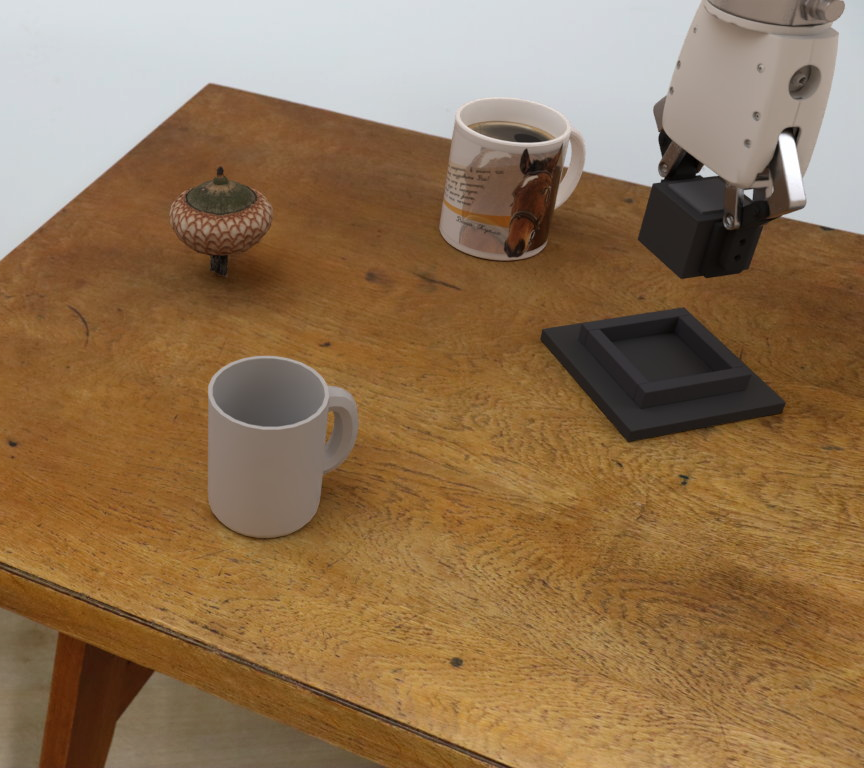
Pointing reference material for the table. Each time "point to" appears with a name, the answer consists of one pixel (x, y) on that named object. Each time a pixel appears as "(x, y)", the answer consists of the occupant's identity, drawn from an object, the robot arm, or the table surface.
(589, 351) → the base pad
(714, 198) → the small cube
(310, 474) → the cup
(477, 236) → the mug
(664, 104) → the robot arm
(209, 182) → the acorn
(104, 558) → the table surface
